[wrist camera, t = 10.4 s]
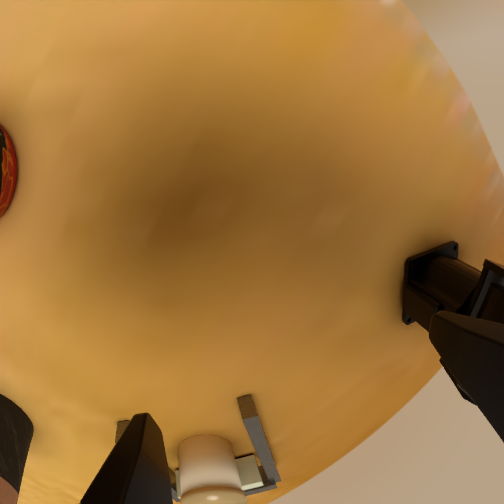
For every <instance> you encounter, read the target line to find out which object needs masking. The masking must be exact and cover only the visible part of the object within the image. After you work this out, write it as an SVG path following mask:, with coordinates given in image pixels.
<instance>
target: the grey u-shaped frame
mask: <svg viewBox="0 0 504 504" xmlns="http://www.w3.org/2000/svg"><path fill="white" fill-rule="evenodd" d="M237 400H238V404H239V408H240V411H241V415H242V419H243V422H244V424H245V427H246V429H247V431H248V434H249V436H250V438H251V441H252V443H253V445H254V448H255V450H256V452H257V454H258V457H259V459H260V461H261V463H262V466H261V467H258V468H259V472H260V475H261V478H262V481H263V486H259V487H255V488H251V489H247V490H243V491H244V492H245V495H246V496H247V495H251V494H256V493H260V492H263V491H267V490H271V489H275V488H277V486H276V482H279V481H281V479H280V476H279V473H278V470H277V467H276V464H275V462H274V459H273V456H272V454H271V451H270V448H269V445H268V442H267V440H266V437H265V434H264V431H263V428H262V425H261V423H260V420H259V417H258V414H257V411H256V408H255V405H254V402H253V399H252V396H251V394H250V395H247V396H243V397H240V398H237ZM129 422H130V421H129V420H128V421H120V422H118V423H117V431H116V439H115V443H117V441H118V440H119V438H120V436H121V435H122V433H123V432H124V430H125V428H126V427H127V425H128V424H129ZM168 468H169V467H168ZM169 474H170V480H171V490H172V498H173V499H174V500H175V501H176V502H180V499H179V498H178V497H177V486H176V475H175V474H174V473H173V472H172V471H171V470H170V469H169Z"/></svg>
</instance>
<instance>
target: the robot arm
mask: <svg viewBox="0 0 504 504" xmlns="http://www.w3.org/2000/svg"><path fill="white" fill-rule="evenodd" d="M411 264H412V265H411ZM483 266H484V267H483V269H482V272H481V271H479V270H478V269H476V268H474V267H472V266H470V265H468V264H466V263H464V262H462V261H461V260H459V259H458V243H457V242H455V241H452V242H449V243H447V244H444V245H442V246H439V247H437V248H434V249H432V250H429V251H427V252H424V253H422V254H419V255H416V256H414V257H411V258H409V259H408V260H407V261H406V264H405V290H404V307H403V323H405V324H406V325H409V324H411V323H413V322H415V321H416V322H417V323H419V324H420V325H421V326H422V327H423V328H424V329H426V330H427V331H428V332H429V339H430V341H431V343H432V344H433V346H434V347H435V349H436V350H437V352H438V353H439V355H440V356H441V358H440V360H439V361H440V363H441V364H442V366H443V367H444V369H445V370H446V372H447V374H448V375H449V377H450V378H451V380H452V381H453V383H454V384H455V386H456V388H457V389H458V391H459V392H460V394H461V396H462V397H463V398H464V399H465V400H468V401H469V402H471V403H473V404H475V405H477V406H478V408H479V409H480V410H481V412H482V413H483V414H484V416H485V417H486V418H487V420H488V421H489V423H490V424H491V425H492V426H493V428H494V429H495V431H496V432H497V434H498V435H499V436H500V438H501V439H502V441H503V442H504V266H503V265H501V264H498V263H495V262H493V261H490V260H487V259H485V261H484V264H483ZM80 503H81V504H173V500H172V490H171V480H170V474H169V468H168V463H167V458H166V453H165V447H164V442H163V436H162V432H161V430H160V428H159V426H158V425H157V424H156V422H155V421H154V419H153V418H152V417H151V415H150V414H149V413H139V414H135V415H134V416H133V417H132V419H131V421H130V422H129V424H128V425H127V427H126V428H125V430H124V432H123V433H122V435H121V436H120V438H119V440H118V441H117V443H116V444H115V446H114V448H113V449H112V451H111V452H110V454H109V456H108V457H107V459H106V460H105V462H104V464H103V465H102V467H101V469H100V470H99V472H98V473H97V475H96V477H95V478H94V480H93V481H92V483H91V485H90V486H89V488H88V490H87V491H86V493H85V494H84V496H83V498H82V499H81V501H80ZM80 503H79V504H80Z"/></svg>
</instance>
